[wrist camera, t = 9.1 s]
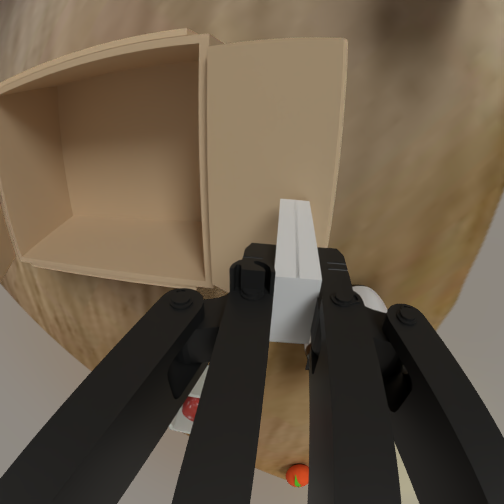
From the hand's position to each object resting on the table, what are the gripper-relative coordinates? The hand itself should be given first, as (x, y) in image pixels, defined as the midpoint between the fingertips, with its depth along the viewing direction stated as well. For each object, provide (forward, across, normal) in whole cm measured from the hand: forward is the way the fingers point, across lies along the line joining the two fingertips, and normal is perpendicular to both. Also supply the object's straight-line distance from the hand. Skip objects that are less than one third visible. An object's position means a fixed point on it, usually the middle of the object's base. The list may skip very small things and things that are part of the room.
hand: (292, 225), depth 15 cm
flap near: (+2, -2, +1) cm, 3 cm away
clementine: (+16, +11, -75) cm, 77 cm away
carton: (+16, -16, +1) cm, 23 cm away
